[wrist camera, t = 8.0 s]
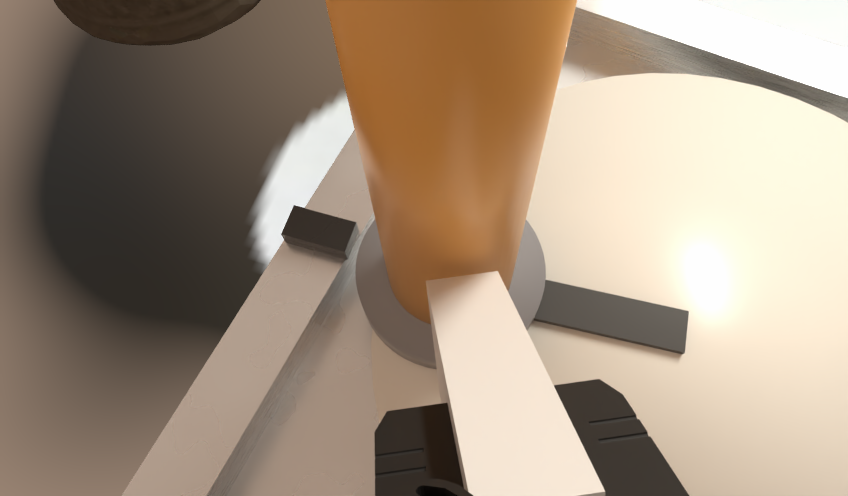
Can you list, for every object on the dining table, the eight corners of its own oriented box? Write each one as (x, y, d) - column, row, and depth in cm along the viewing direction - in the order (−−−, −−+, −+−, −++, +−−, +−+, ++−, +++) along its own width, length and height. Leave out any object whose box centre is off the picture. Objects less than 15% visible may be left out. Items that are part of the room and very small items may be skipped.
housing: (475, 1, 28) (479, -83, 24) (1098, 215, 23) (1223, 151, 19) (140, 553, 20) (68, 554, 16) (1010, 1086, 15) (1204, 1271, 11)
